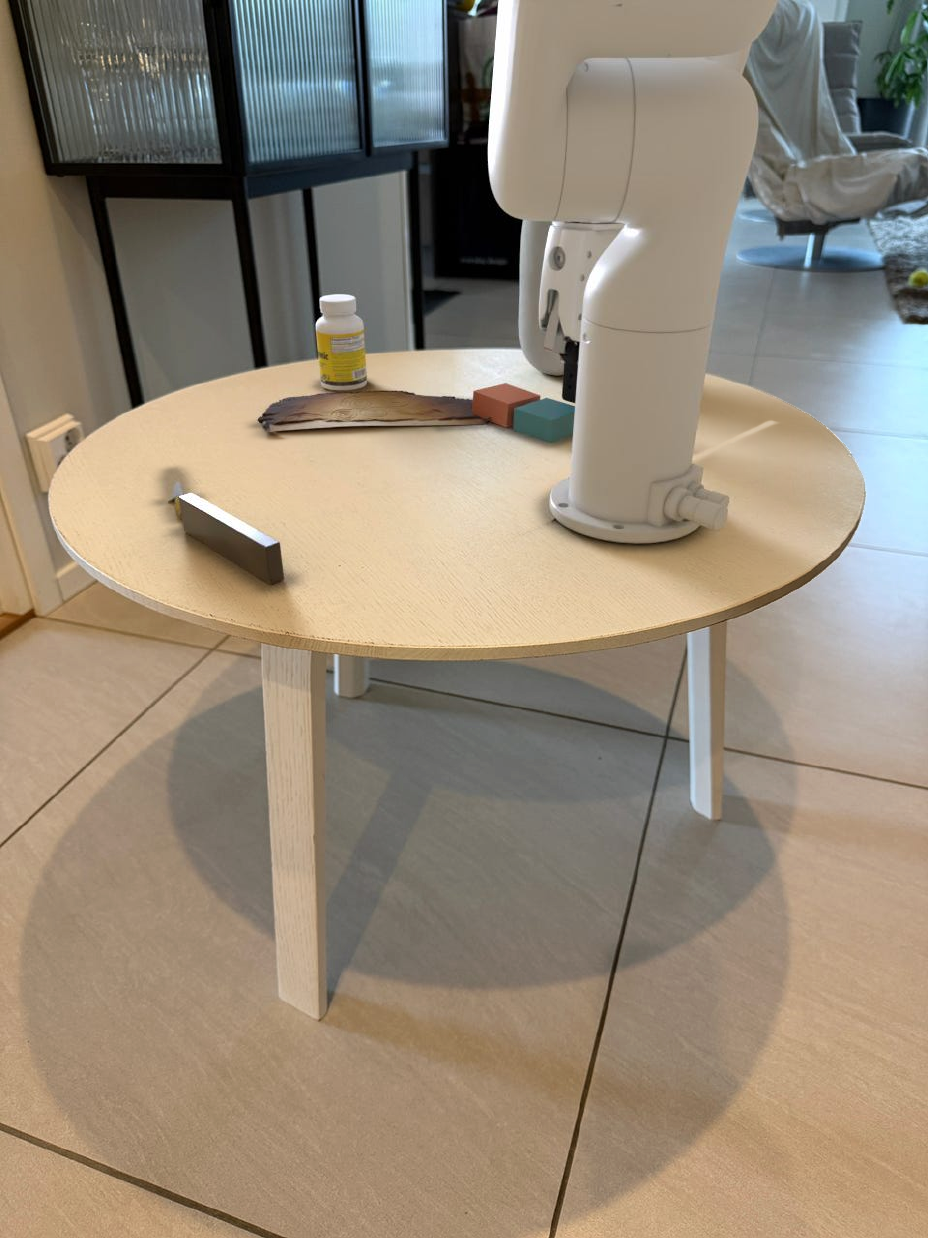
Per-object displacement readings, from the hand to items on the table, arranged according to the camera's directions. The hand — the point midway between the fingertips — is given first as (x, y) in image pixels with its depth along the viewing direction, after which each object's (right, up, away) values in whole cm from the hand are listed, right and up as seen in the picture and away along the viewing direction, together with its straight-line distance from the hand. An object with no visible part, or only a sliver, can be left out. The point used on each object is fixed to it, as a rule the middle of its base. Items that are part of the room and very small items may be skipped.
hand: (578, 400), depth 90 cm
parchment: (-21, -1, +2) cm, 21 cm away
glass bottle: (0, +7, +16) cm, 18 cm away
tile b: (-8, -1, +2) cm, 8 cm away
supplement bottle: (-26, +5, +11) cm, 29 cm away
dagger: (-36, -12, -15) cm, 41 cm away
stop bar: (-29, -18, -25) cm, 42 cm away
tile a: (-3, -4, -2) cm, 5 cm away
